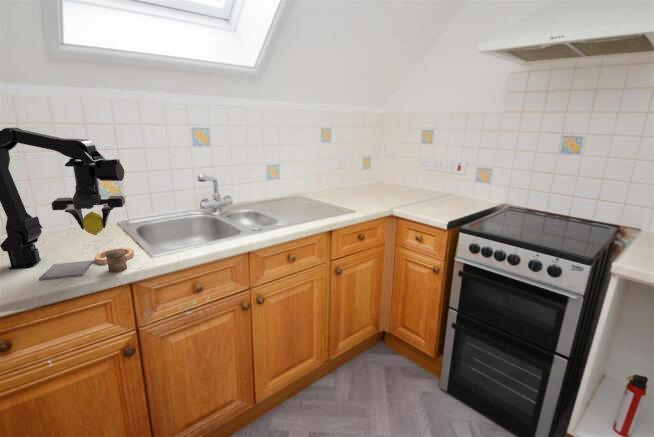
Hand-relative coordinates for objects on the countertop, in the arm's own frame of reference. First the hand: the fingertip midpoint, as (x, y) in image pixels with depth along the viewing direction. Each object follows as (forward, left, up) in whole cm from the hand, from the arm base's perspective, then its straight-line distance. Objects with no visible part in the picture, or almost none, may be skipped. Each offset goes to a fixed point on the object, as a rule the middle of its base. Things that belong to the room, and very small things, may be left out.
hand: (94, 228), depth 114 cm
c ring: (+4, +2, -12) cm, 12 cm away
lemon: (0, 0, -3) cm, 2 cm away
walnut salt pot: (+7, -9, -12) cm, 16 cm away
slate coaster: (-8, -5, -12) cm, 15 cm away
